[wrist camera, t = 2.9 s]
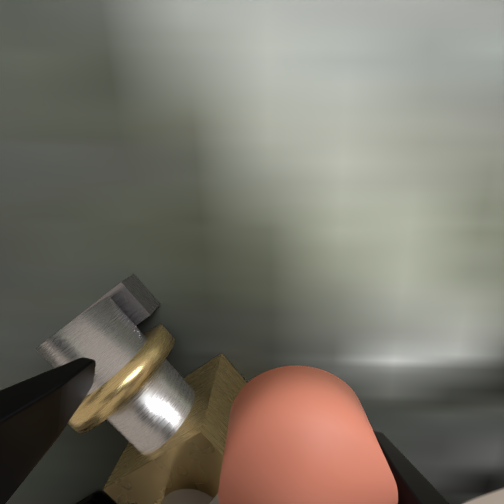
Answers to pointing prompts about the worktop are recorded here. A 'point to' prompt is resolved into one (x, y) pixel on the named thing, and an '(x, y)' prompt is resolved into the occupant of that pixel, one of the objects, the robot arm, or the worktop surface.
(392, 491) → the lever
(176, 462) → the valve body
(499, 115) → the worktop surface
